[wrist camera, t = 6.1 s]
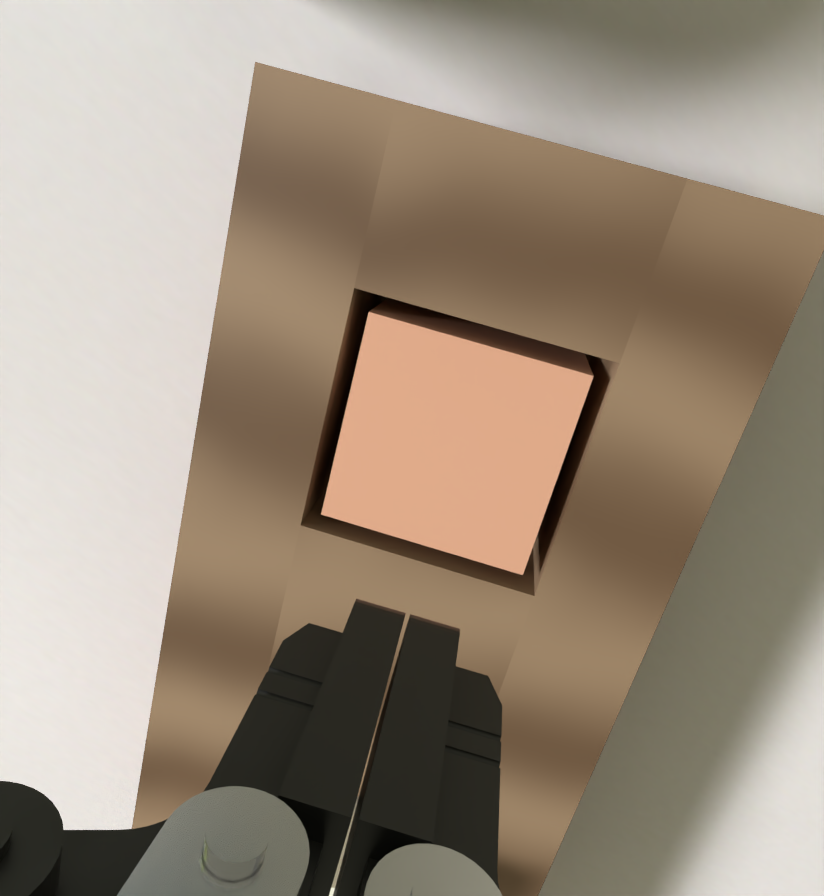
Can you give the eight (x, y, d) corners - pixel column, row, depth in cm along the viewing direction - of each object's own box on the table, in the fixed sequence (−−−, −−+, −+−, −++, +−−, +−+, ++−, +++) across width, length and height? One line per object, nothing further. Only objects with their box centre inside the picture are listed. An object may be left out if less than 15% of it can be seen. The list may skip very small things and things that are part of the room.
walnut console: (320, 95, 23) (255, 61, 17) (758, 214, 22) (837, 219, 17) (179, 833, 34) (111, 958, 28) (468, 928, 33) (457, 1075, 28)
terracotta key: (393, 293, 23) (368, 311, 19) (581, 346, 22) (593, 376, 19) (351, 466, 25) (321, 514, 21) (523, 517, 25) (522, 575, 21)
